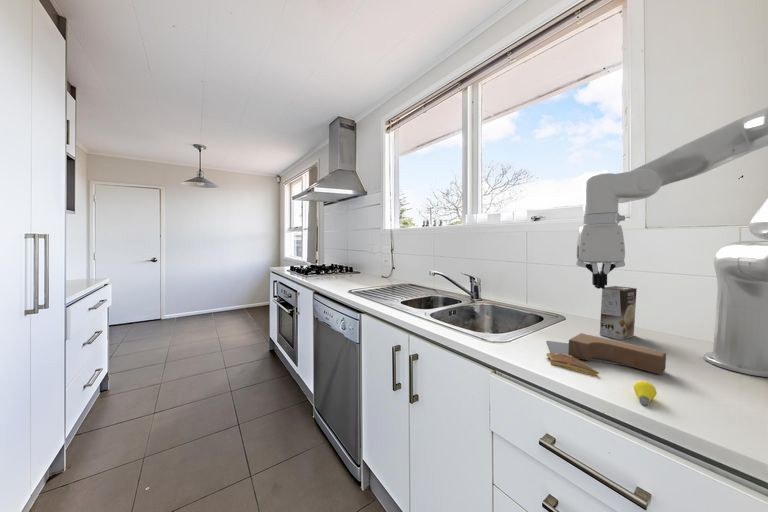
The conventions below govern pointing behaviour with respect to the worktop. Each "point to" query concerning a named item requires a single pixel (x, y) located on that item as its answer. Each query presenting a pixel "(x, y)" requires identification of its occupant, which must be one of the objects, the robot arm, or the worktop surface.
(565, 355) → the sandwich
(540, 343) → the worktop surface
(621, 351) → the wooden block
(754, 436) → the worktop surface
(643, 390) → the light bulb
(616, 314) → the coffee box
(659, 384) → the worktop surface
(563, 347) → the mat
